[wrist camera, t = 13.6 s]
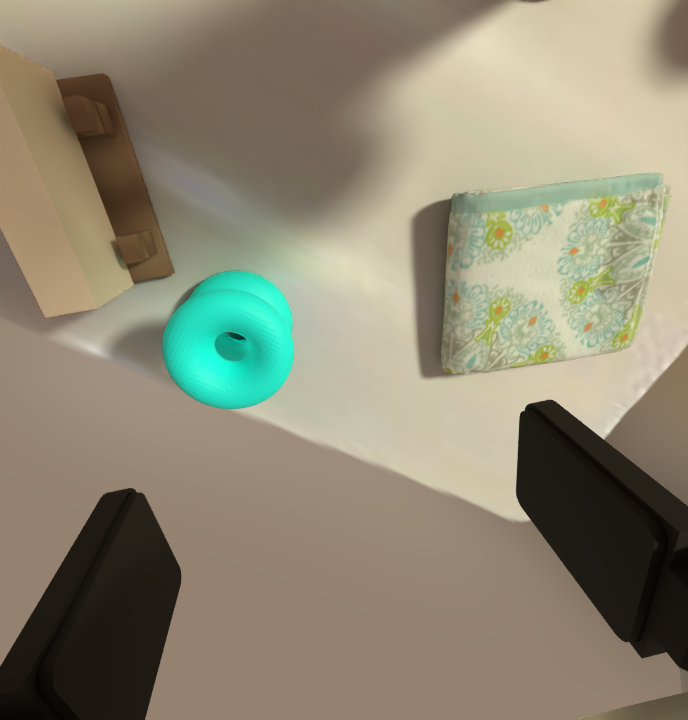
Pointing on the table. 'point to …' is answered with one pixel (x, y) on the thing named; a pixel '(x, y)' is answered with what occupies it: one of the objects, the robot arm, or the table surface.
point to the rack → (116, 174)
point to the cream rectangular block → (52, 197)
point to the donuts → (230, 341)
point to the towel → (549, 270)
